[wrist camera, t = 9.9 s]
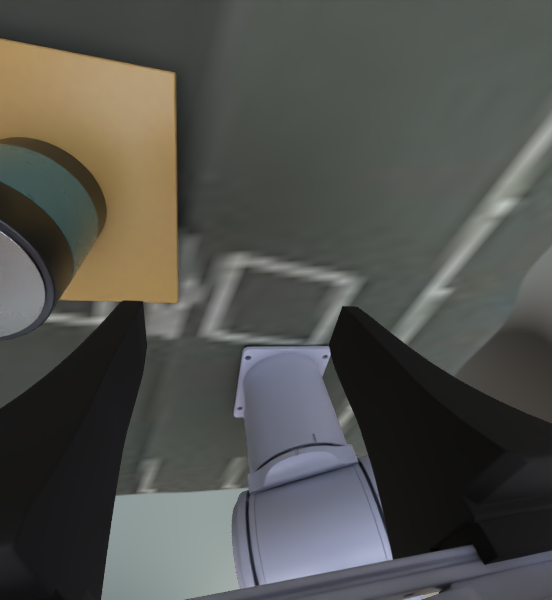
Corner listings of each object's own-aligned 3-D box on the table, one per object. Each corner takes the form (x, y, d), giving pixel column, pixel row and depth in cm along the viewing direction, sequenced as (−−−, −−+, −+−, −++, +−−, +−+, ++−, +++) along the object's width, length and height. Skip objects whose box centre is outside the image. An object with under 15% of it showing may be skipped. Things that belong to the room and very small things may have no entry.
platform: (180, 282, 22) (177, 303, 20) (-28, 273, 19) (-55, 297, 17) (178, 71, 15) (174, 72, 13) (-145, 8, 12) (-213, -3, 10)
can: (113, 253, 17) (70, 344, 12) (-4, 246, 16) (-117, 345, 10) (98, 146, 14) (29, 199, 9) (-49, 126, 13) (-244, 174, 7)
